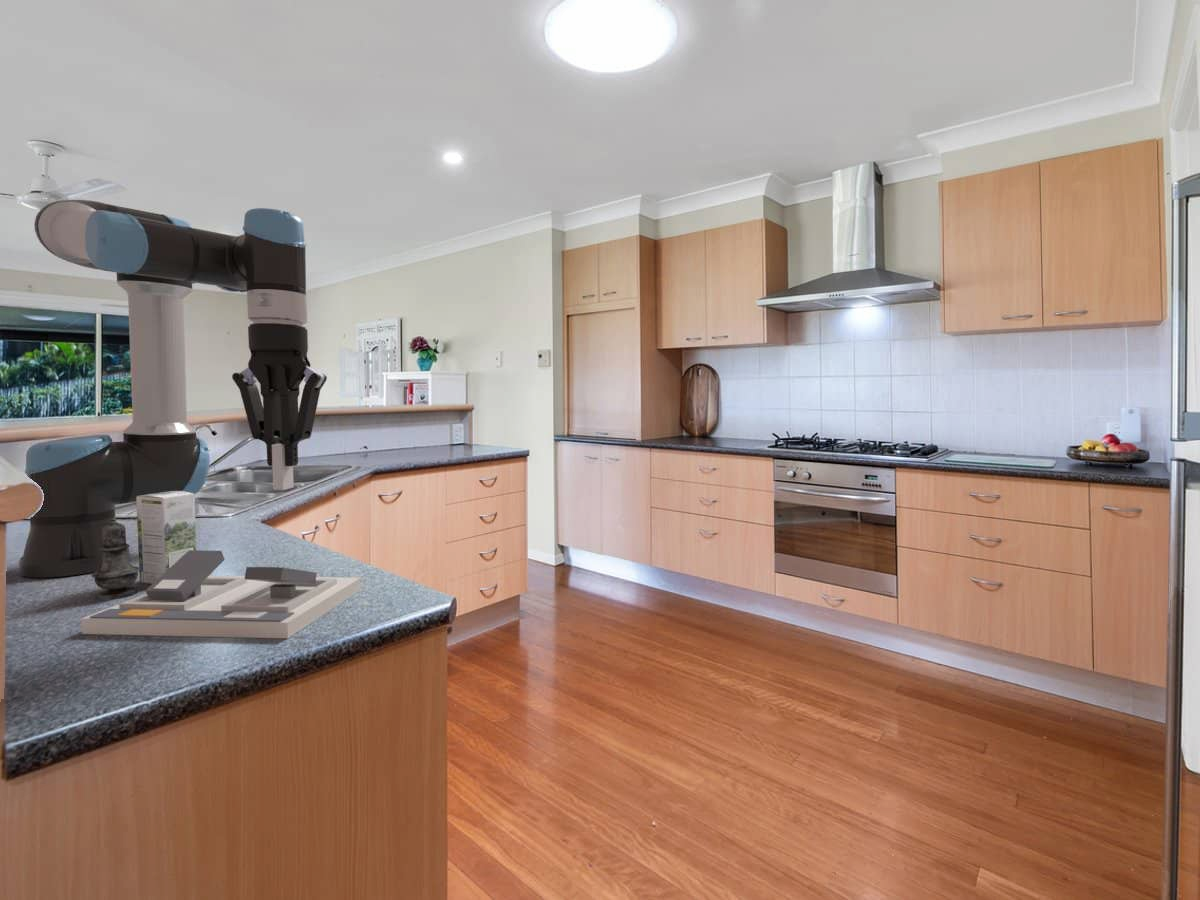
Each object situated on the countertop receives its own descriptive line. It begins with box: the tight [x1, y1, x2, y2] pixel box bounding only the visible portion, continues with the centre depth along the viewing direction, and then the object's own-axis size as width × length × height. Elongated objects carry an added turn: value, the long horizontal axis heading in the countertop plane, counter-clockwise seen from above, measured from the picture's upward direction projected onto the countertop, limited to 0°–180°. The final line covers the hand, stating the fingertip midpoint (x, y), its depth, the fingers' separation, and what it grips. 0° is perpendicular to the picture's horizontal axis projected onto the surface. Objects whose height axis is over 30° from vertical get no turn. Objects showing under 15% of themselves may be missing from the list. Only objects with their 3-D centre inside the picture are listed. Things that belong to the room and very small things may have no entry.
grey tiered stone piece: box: [91, 517, 140, 601], centre depth 94 cm, size 6×6×12 cm
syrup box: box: [135, 491, 197, 585], centre depth 102 cm, size 6×6×14 cm
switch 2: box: [244, 566, 318, 584], centre depth 87 cm, size 9×5×2 cm, turn 176°
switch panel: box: [81, 574, 362, 639], centre depth 87 cm, size 20×27×4 cm
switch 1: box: [145, 549, 225, 601], centre depth 87 cm, size 9×5×2 cm, turn 176°
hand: (283, 488), depth 90 cm, fingers closed
